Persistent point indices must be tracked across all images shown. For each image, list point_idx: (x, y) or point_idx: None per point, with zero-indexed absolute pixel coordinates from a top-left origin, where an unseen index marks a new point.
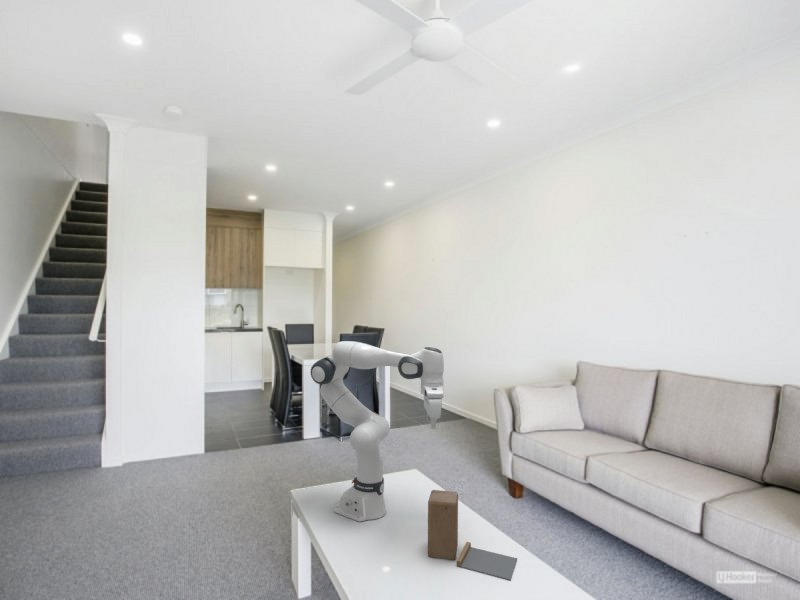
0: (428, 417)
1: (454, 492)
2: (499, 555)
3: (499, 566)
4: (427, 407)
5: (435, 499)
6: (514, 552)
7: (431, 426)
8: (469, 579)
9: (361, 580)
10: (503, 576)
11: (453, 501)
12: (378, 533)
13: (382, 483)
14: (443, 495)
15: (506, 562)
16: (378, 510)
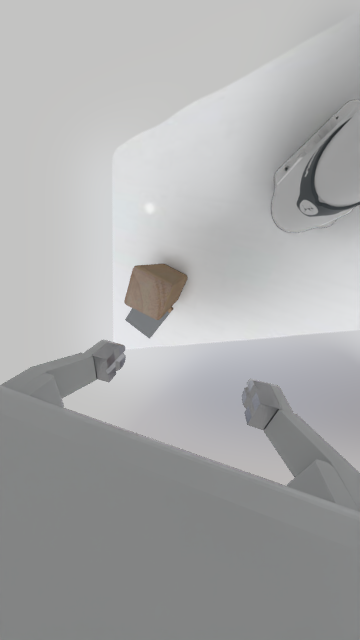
0: (264, 409)
1: (154, 315)
2: (154, 328)
3: (140, 320)
4: (37, 582)
5: (133, 277)
6: (159, 341)
7: (95, 345)
8: None
9: (132, 170)
10: (128, 317)
11: (126, 302)
12: (227, 208)
13: (314, 205)
14: (146, 295)
15: (145, 328)
16: (279, 210)
